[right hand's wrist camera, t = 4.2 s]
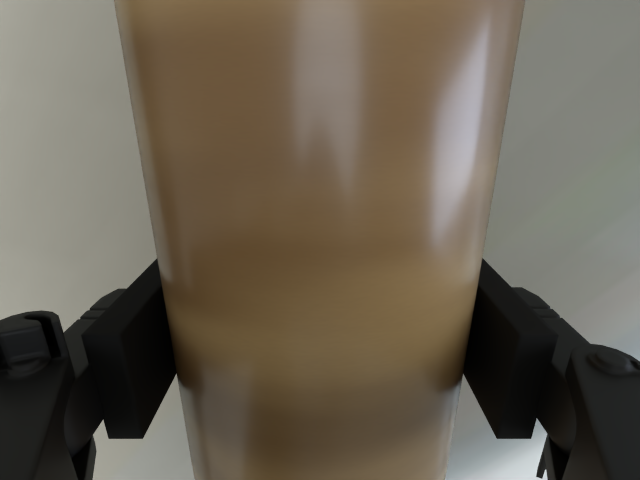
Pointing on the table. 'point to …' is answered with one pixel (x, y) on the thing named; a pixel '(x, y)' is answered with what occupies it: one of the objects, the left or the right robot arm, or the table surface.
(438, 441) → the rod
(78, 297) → the table surface
